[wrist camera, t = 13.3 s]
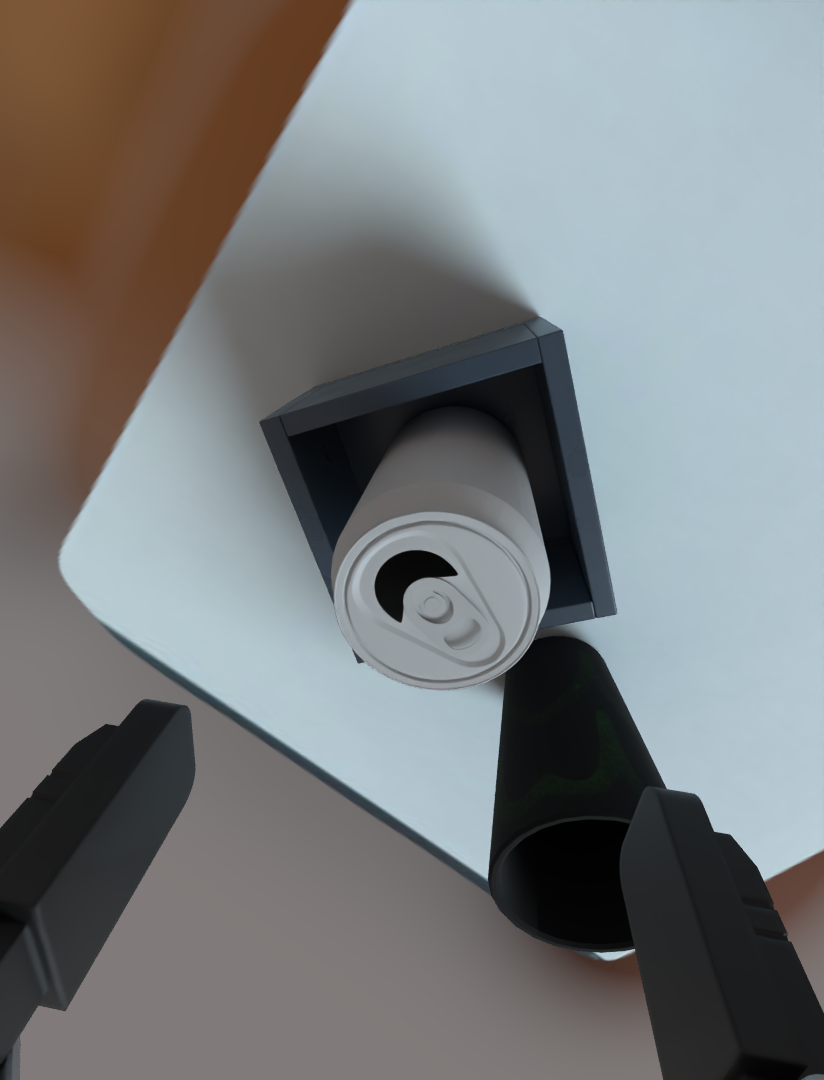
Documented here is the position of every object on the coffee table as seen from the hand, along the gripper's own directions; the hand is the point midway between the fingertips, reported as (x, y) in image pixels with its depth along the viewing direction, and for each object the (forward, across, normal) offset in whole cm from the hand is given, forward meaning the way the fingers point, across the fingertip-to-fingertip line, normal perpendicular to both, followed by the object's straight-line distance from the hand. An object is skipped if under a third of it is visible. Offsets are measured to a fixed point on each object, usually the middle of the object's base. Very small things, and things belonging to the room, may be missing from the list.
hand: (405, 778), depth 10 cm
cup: (+19, -7, +12) cm, 23 cm away
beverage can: (+18, 0, 0) cm, 18 cm away
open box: (+19, 0, 0) cm, 19 cm away
